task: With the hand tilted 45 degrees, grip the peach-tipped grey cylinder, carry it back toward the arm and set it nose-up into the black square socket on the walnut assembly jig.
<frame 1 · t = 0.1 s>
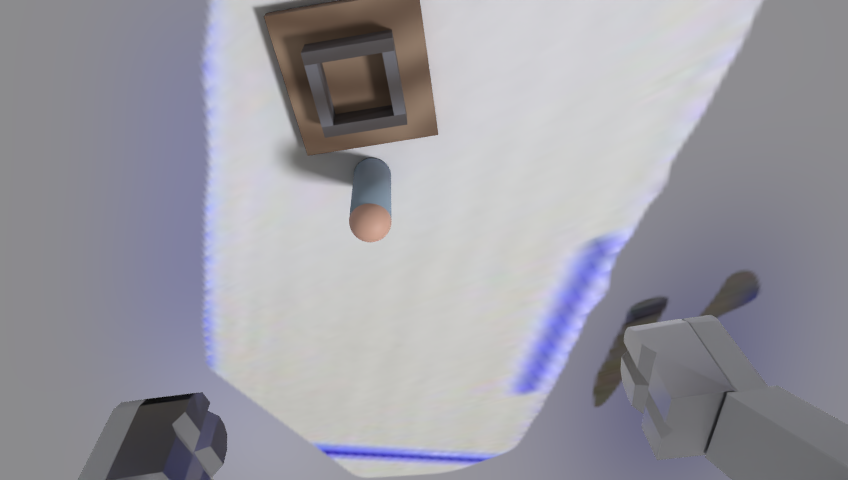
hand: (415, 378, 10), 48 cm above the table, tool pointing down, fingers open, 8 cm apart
peach-tipped grey cylinder: (372, 174, 61), on the table
jig: (358, 75, 54), on the table
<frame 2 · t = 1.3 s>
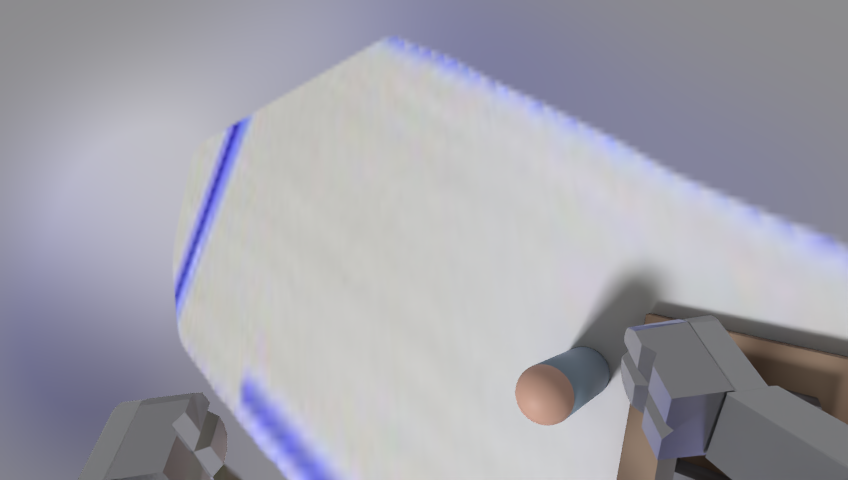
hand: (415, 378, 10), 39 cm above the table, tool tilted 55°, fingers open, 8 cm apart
peach-tipped grey cylinder: (584, 371, 46), on the table
jig: (734, 429, 39), on the table
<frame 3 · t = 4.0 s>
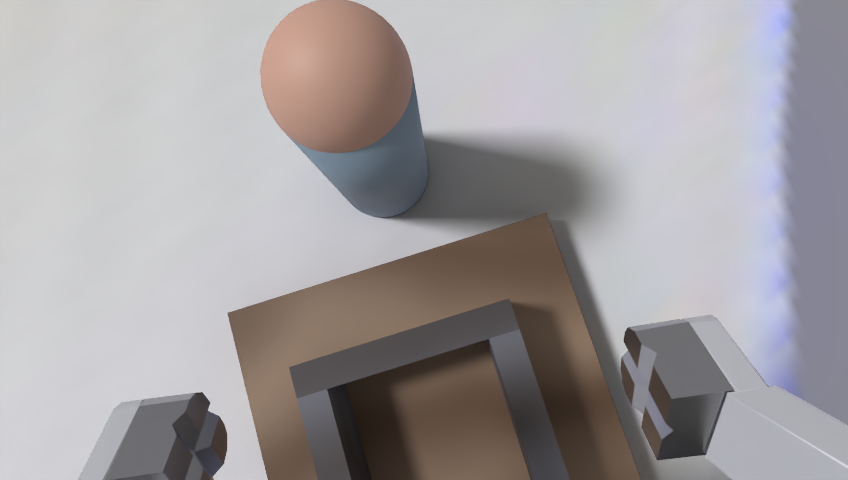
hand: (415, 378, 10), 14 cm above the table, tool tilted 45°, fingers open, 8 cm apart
peach-tipped grey cylinder: (383, 173, 25), on the table
jig: (437, 423, 23), on the table
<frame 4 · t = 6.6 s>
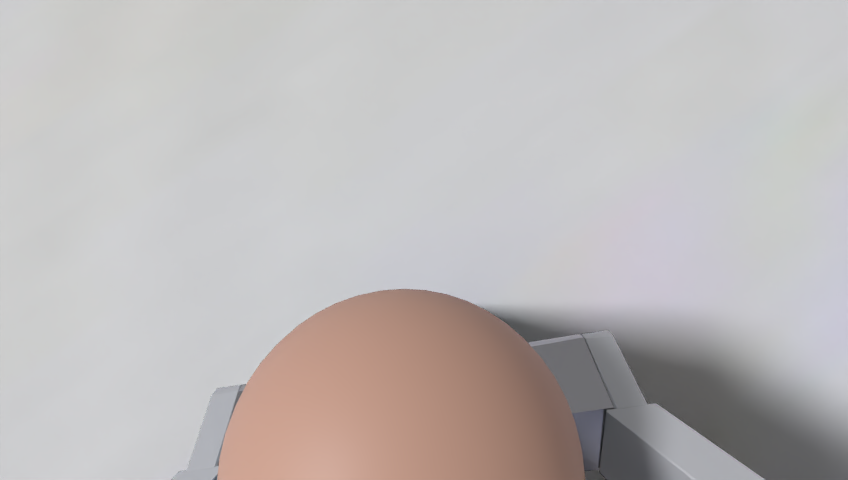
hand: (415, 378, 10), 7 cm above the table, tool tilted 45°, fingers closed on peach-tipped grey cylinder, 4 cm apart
peach-tipped grey cylinder: (434, 371, 16), on the table, touching gripper
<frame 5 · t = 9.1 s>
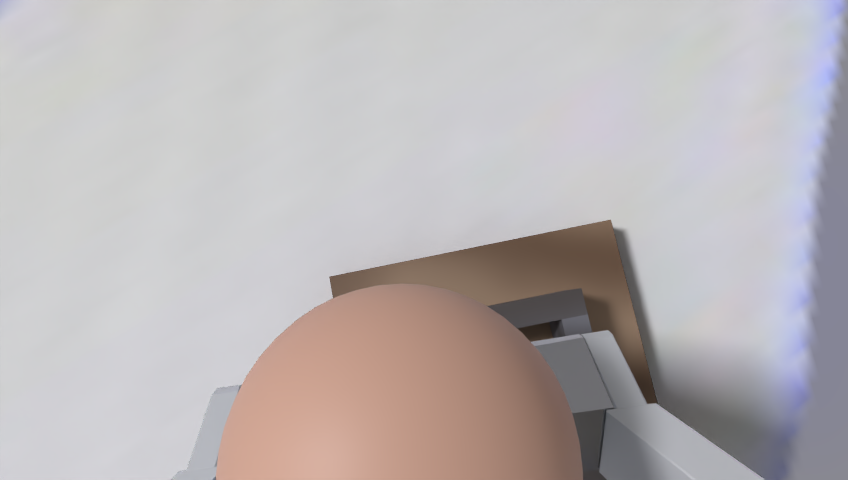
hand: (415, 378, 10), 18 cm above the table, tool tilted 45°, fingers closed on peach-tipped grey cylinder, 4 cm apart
peach-tipped grey cylinder: (433, 368, 16), point 11 cm above the table, touching gripper
jig: (497, 388, 27), on the table
when the fingers open (10 cm above the table, at t = 11.8 s): peach-tipped grey cylinder drops 2 cm, resting on jig.
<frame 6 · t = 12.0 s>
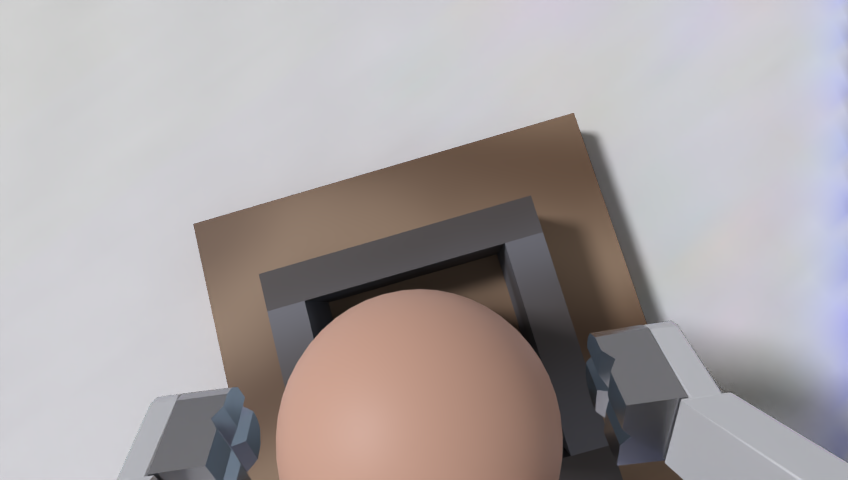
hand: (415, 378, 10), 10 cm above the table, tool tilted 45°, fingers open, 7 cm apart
peach-tipped grey cylinder: (434, 365, 18), point 2 cm above the table, touching jig
jig: (438, 360, 19), on the table
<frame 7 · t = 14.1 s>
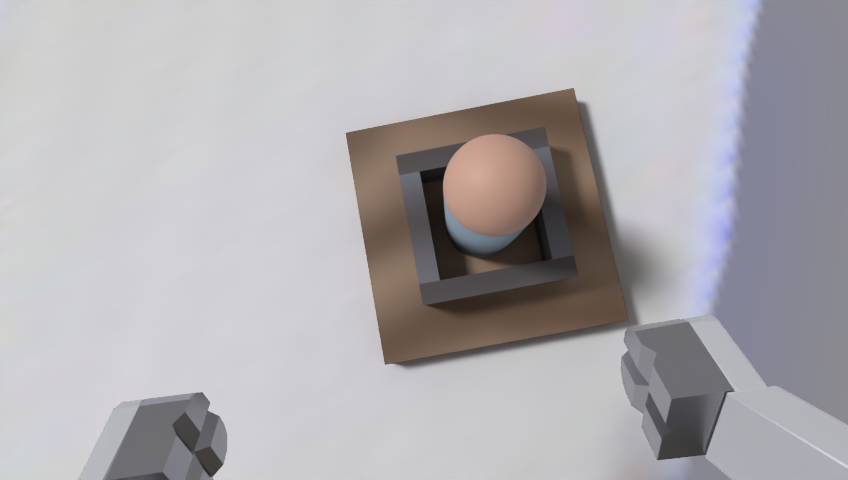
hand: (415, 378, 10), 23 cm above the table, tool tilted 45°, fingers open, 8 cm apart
peach-tipped grey cylinder: (480, 223, 32), point 1 cm above the table, touching jig
jig: (480, 226, 33), on the table
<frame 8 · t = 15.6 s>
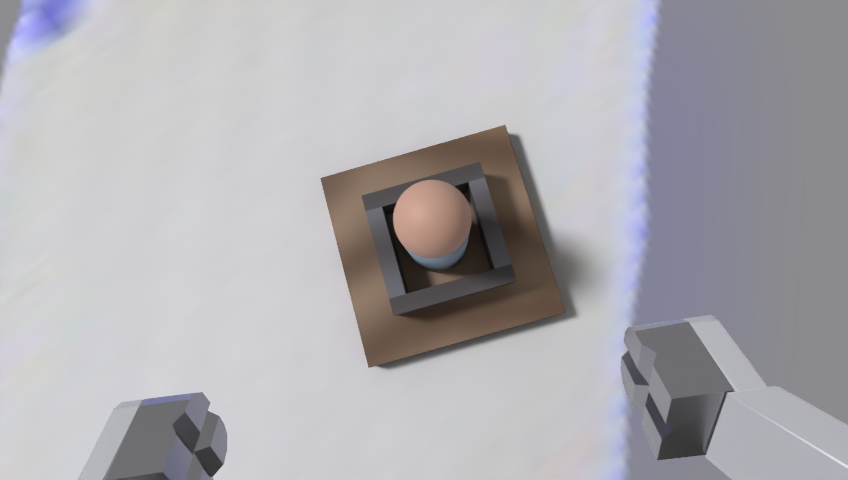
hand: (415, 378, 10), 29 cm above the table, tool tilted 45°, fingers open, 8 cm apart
peach-tipped grey cylinder: (437, 243, 38), point 1 cm above the table, touching jig
jig: (439, 245, 40), on the table
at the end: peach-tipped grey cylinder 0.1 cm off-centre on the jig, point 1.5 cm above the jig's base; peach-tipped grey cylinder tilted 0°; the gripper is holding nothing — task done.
